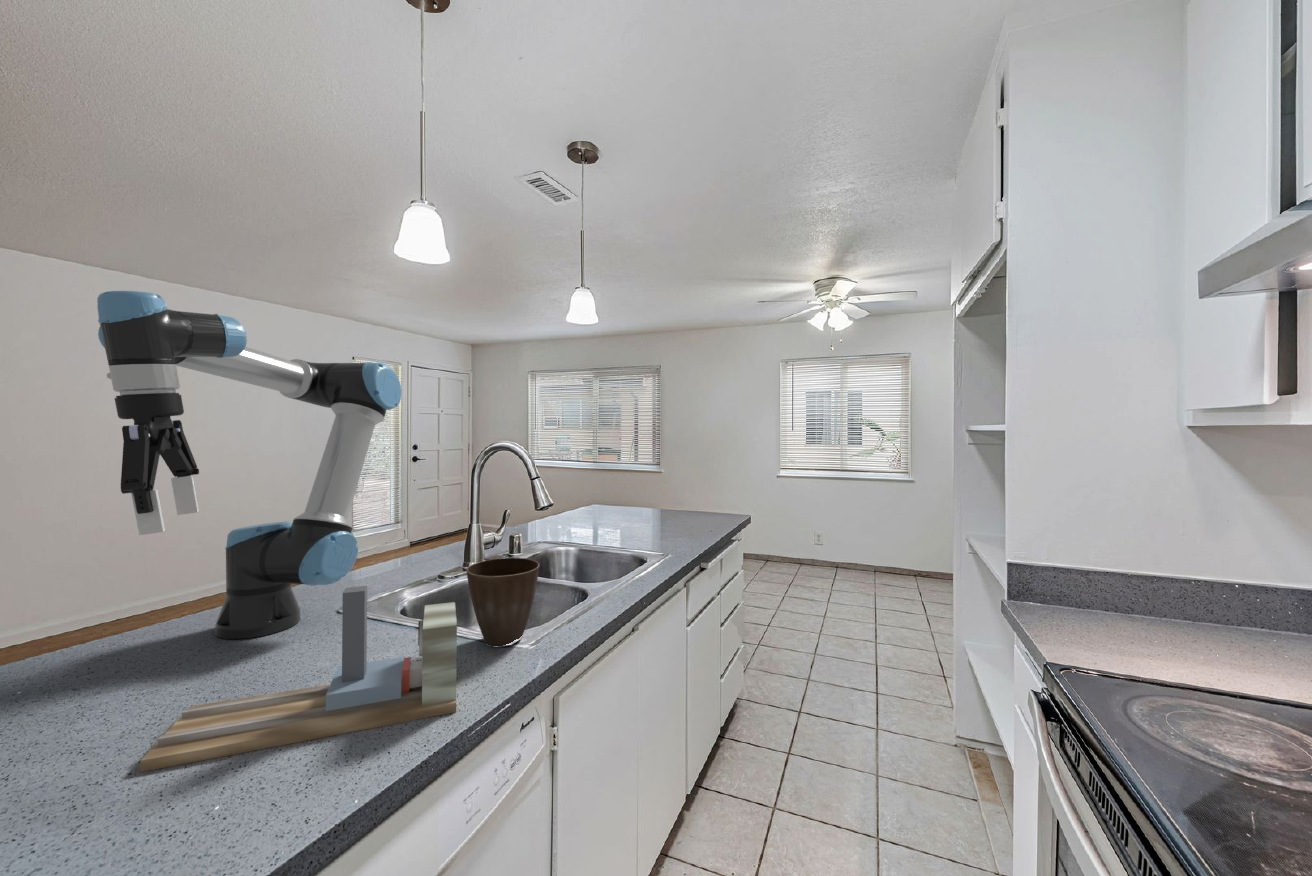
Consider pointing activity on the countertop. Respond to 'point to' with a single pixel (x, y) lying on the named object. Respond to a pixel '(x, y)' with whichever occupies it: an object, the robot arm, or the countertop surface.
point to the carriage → (361, 661)
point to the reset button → (411, 675)
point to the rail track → (312, 707)
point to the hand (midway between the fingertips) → (171, 522)
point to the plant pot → (502, 597)
